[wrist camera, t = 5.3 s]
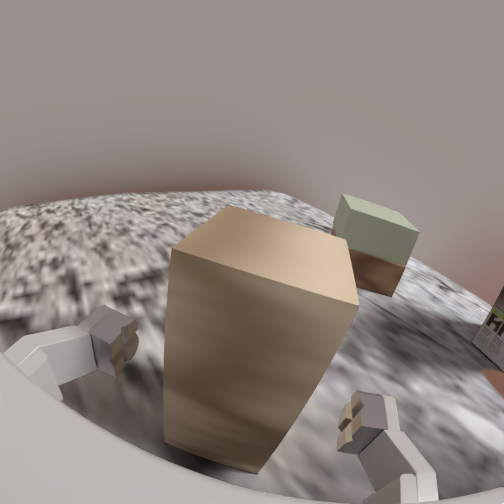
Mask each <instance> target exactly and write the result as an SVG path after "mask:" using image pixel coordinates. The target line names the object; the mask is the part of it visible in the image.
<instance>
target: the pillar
mask: <svg viewBox="0 0 504 504" xmlns="http://www.w3.org/2000/svg"><path fill="white" fill-rule="evenodd" d="M359 306H360V305H359V300H358V294H357V289H356V284H355V279H354V274H353V269H352V264H351V259H350V255H349V250H348V246H347V241H346V240H345V239H342V238H339V237H336V236H333V235H329V234H326V233H323V232H320V231H316V230H313V229H310V228H307V227H303V226H300V225H297V224H293V223H290V222H286V221H283V220H280V219H276V218H273V217H269V216H266V215H262V214H259V213H255V212H252V211H248V210H245V209H241V208H237V207H234V206H230V205H228V206H227V207H225V208H224V209H222V210H221V211H220V212H218V213H217V214H216V215H214V216H213V217H212V218H210V219H209V220H208V221H206V222H205V223H204V224H202V225H201V226H200V227H198V228H197V229H196V230H195V231H193V232H192V233H191V234H189V235H188V236H187V237H185V238H184V239H183V240H182V241H180V242H179V243H178V244H176V245H175V246H174V247H173V248H172V251H171V261H170V271H169V282H168V294H167V308H166V324H165V345H164V382H163V413H164V442H165V443H167V444H170V445H172V446H174V447H177V448H179V449H182V450H184V451H187V452H189V453H192V454H195V455H197V456H200V457H203V458H206V459H209V460H211V461H214V462H217V463H221V464H224V465H227V466H230V467H233V468H237V469H240V470H244V471H248V472H251V473H255V474H258V472H259V471H260V470H261V468H262V467H263V466H264V464H265V463H266V462H267V460H268V459H269V458H270V456H271V455H272V454H273V452H274V451H275V449H276V448H277V447H278V445H279V444H280V442H281V441H282V440H283V438H284V437H285V435H286V434H287V432H288V431H289V429H290V428H291V426H292V425H293V423H294V422H295V420H296V419H297V417H298V416H299V414H300V413H301V411H302V409H303V408H304V406H305V405H306V403H307V402H308V400H309V398H310V397H311V395H312V393H313V392H314V390H315V388H316V387H317V385H318V383H319V382H320V380H321V378H322V376H323V375H324V373H325V371H326V370H327V368H328V366H329V364H330V362H331V361H332V359H333V357H334V355H335V353H336V351H337V350H338V348H339V346H340V344H341V342H342V340H343V338H344V336H345V334H346V332H347V330H348V328H349V326H350V324H351V322H352V320H353V318H354V316H355V314H356V312H357V310H358V308H359Z"/></svg>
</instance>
